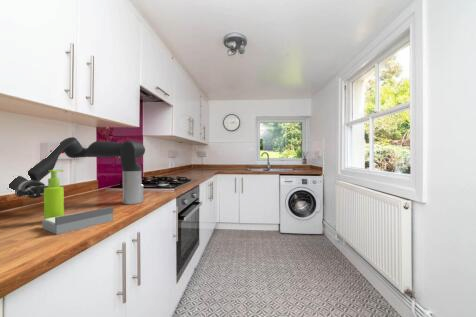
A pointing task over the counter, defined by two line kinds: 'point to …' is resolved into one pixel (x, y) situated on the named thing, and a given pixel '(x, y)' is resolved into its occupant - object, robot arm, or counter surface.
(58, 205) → the soap dispenser
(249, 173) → the counter surface
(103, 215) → the dock
